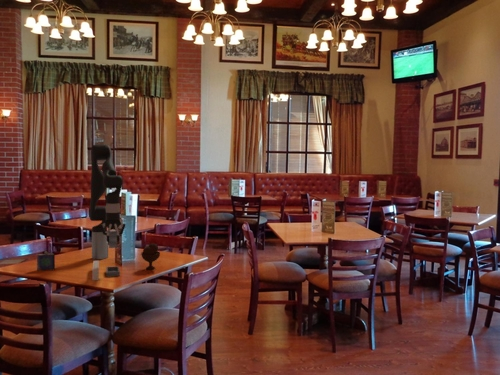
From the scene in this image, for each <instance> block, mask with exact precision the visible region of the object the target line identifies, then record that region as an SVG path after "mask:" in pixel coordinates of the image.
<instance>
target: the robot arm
mask: <svg viewBox="0 0 500 375" xmlns="http://www.w3.org/2000/svg"><path fill="white" fill-rule="evenodd" d="M112 154H113V153H112V149H111V147H110V145H108V144H93V145H91V149H90V156H91V158H90V159H91V160H90V162H91V174H90V202H89V215H88V216H89V219H90V221H92V222H100V221H101V222H100V223H99V224H97V225H94V226H92V227H91V259H93V260H104V259H108V258H109V232H110V231H112V230H116V232H117V243H118V242H120V236H121V235H123V234H124V230H125V228H126V223H123V222H121V205H120V199H121V198H120V196H121V191H122V187H123V185H124V179H123V177H122V176H121V175H117V170H116V168H115V165H114V161H113V160H114V159H113V158H114V157H113V155H112ZM98 161H104V162H103V163H102V165H101V168H100V165H99V164H98ZM107 189H114V190H113V191H111V192H107V193H106V198H105V199H106V201H105V202H106V203H105V204H106V205H99V206H97V203H98V202H99V201H100V199H101V198H102V196H103V195H104V194H105V192H106V190H107ZM120 227H121V229H120V231H119V228H120Z"/></svg>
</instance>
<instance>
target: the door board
mask: <svg viewBox="0 0 500 375" xmlns="http://www.w3.org/2000/svg"><path fill="white" fill-rule="evenodd" d="M92 262H93V264H92V277H91V278H92V281H99V276H100V274H99V273H100V260H93V261H92Z"/></svg>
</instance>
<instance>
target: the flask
mask: <svg viewBox="0 0 500 375" xmlns="http://www.w3.org/2000/svg"><path fill="white" fill-rule="evenodd" d="M55 256H56V255H55V254H54V253H52V252H48V250H45V251H44V253H42V254H40V253H39V254H37V255H36V270H38V271H39V270H41V271H53V269H54V270H55V269H56V268H55V266H56V265H55V264H56V261H55Z"/></svg>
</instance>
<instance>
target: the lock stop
mask: <svg viewBox="0 0 500 375" xmlns="http://www.w3.org/2000/svg"><path fill="white" fill-rule="evenodd" d="M115 248H116V249H117V248H118V242H117V232H116V230H110V232H109V243H108V249H115Z"/></svg>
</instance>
